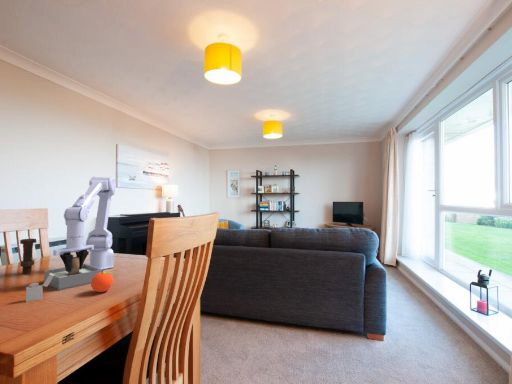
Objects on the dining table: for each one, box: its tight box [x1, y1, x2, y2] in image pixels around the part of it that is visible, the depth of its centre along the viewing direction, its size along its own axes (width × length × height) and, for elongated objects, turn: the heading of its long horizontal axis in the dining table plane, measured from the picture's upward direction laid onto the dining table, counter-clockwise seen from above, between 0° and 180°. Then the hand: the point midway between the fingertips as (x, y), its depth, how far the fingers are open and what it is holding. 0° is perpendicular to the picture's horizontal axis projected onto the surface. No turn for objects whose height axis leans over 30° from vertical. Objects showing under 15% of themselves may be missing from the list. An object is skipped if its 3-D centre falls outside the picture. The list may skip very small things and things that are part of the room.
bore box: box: [43, 263, 104, 292], centre depth 105 cm, size 15×16×4 cm
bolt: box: [19, 238, 37, 275], centre depth 115 cm, size 6×5×15 cm
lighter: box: [25, 273, 54, 303], centre depth 87 cm, size 7×2×8 cm, turn 130°
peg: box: [68, 256, 80, 276], centre depth 105 cm, size 4×4×7 cm
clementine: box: [90, 271, 116, 293], centre depth 95 cm, size 8×7×7 cm
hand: (73, 270), depth 105 cm, fingers closed on peg, 4 cm apart
